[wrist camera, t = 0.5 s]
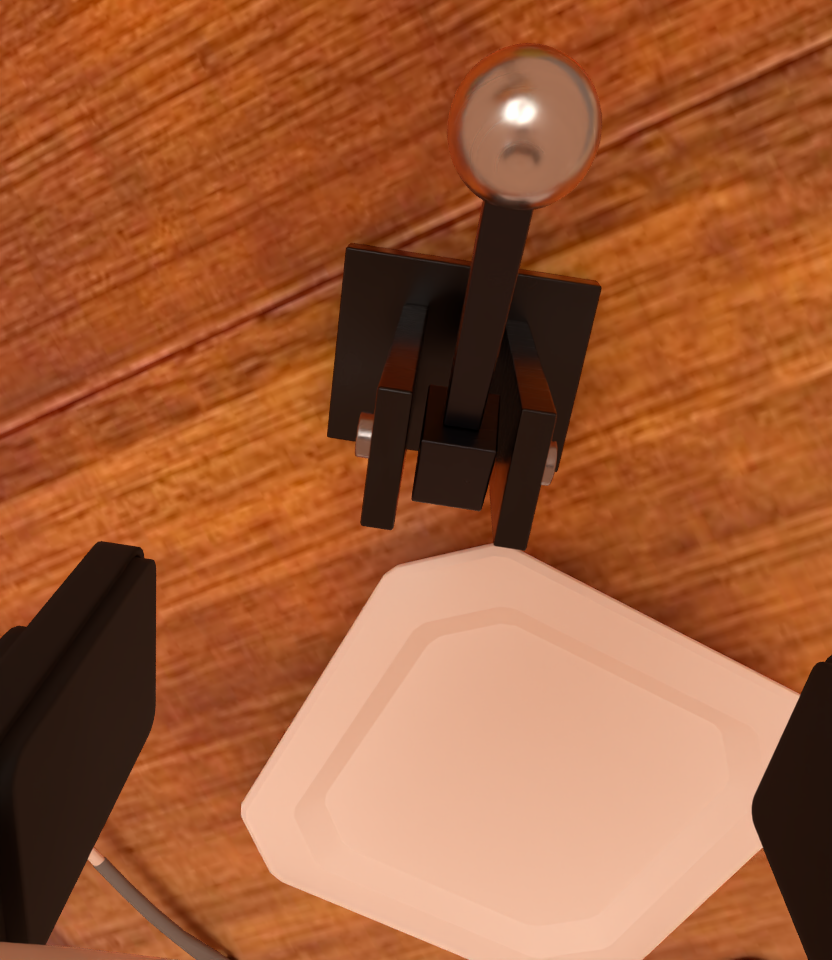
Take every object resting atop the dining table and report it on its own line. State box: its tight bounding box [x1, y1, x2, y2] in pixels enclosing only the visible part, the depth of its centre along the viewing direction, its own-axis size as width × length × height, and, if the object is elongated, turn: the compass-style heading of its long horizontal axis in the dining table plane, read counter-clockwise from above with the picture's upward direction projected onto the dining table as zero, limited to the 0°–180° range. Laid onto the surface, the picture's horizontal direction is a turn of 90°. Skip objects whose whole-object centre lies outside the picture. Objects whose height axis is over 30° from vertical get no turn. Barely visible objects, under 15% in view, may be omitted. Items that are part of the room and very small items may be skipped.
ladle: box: [88, 847, 230, 960], centre depth 45 cm, size 6×28×5 cm, turn 27°
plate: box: [241, 543, 801, 960], centre depth 42 cm, size 25×25×2 cm
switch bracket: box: [327, 243, 601, 551], centre depth 28 cm, size 8×10×12 cm
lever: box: [412, 43, 602, 511], centre depth 20 cm, size 13×3×3 cm, turn 172°
